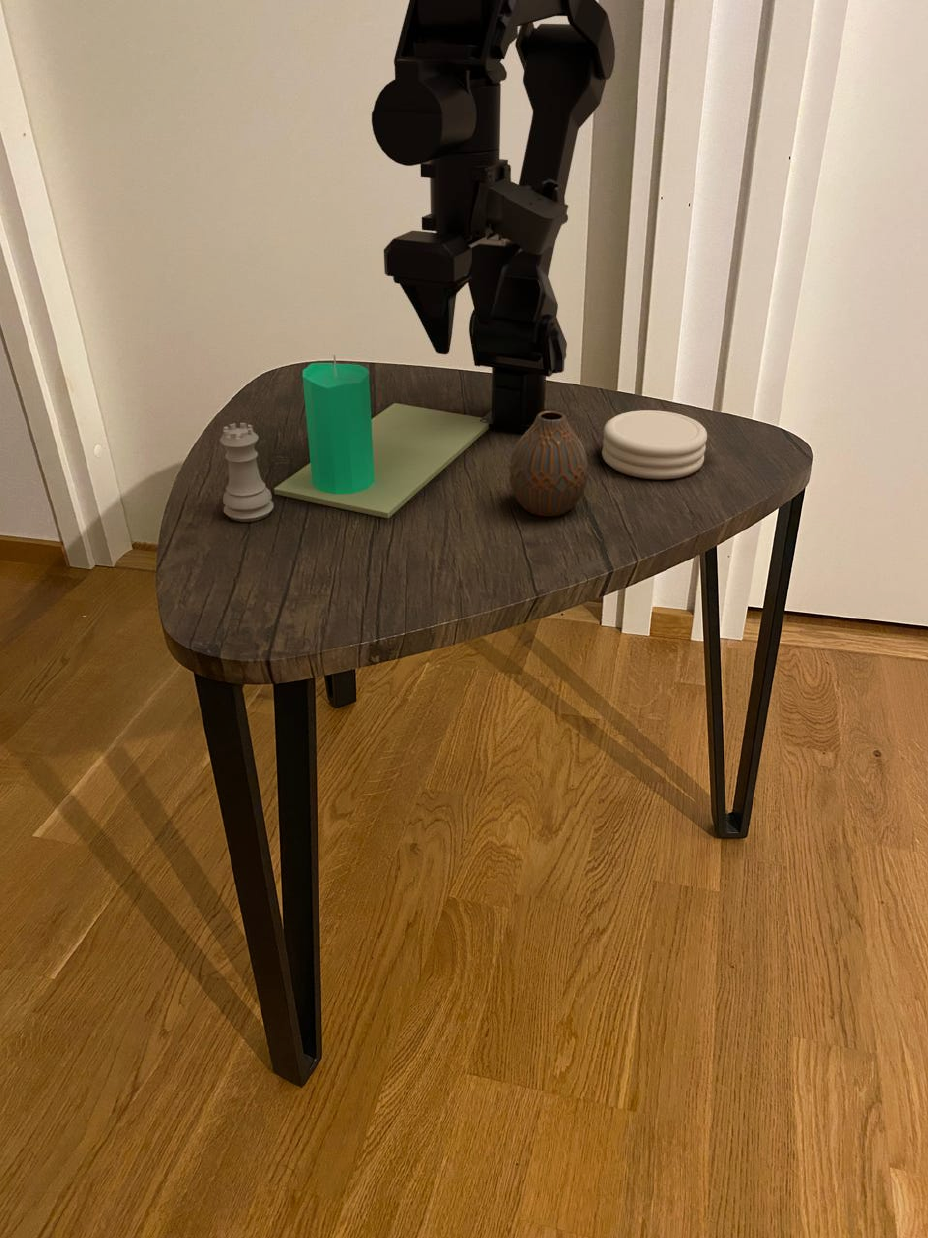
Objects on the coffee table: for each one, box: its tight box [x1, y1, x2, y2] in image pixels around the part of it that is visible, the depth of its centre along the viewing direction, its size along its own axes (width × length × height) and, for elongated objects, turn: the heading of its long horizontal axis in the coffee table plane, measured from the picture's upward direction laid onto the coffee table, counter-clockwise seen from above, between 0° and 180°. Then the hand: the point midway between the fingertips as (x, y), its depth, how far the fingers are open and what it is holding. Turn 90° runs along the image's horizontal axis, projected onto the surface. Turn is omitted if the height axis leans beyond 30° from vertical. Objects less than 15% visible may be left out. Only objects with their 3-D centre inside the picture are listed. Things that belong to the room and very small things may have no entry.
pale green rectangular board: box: [273, 402, 492, 519], centre depth 98 cm, size 24×12×1 cm, turn 156°
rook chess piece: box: [219, 422, 275, 523], centre depth 86 cm, size 4×4×8 cm
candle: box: [301, 354, 375, 494], centre depth 89 cm, size 6×6×12 cm
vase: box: [509, 409, 589, 517], centre depth 87 cm, size 7×7×9 cm
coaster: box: [601, 409, 708, 480], centre depth 97 cm, size 10×10×4 cm
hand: (464, 338), depth 88 cm, fingers open, 9 cm apart
